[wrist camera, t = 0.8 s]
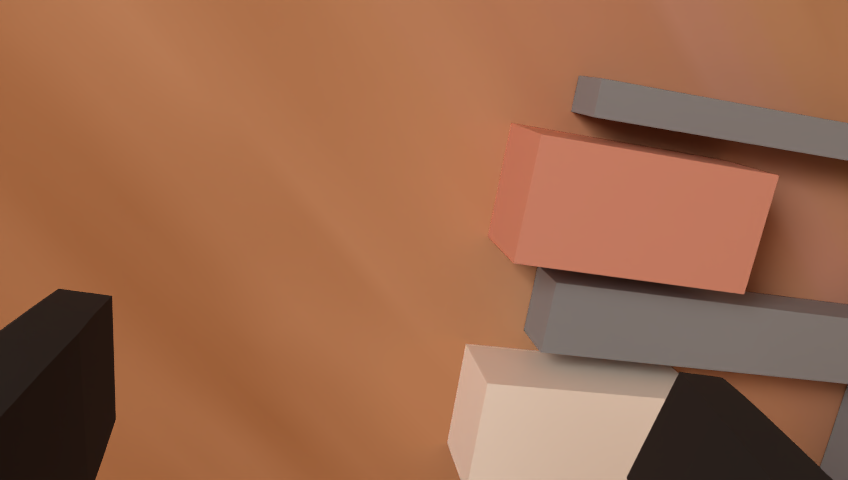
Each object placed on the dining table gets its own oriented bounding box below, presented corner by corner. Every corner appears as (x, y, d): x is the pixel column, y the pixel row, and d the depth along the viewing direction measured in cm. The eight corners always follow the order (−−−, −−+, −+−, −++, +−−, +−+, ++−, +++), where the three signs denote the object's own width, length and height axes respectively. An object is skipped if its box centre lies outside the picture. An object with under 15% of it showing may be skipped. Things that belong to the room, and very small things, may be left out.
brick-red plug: (690, 263, 27) (744, 294, 24) (486, 234, 26) (513, 263, 22) (719, 158, 26) (779, 175, 23) (509, 122, 25) (541, 134, 22)
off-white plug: (640, 453, 29) (684, 505, 26) (446, 439, 28) (465, 493, 24) (664, 360, 28) (712, 402, 25) (464, 341, 27) (487, 383, 23)
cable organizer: (829, 513, 31) (873, 552, 29) (489, 491, 28) (506, 533, 26) (955, 144, 28) (1017, 153, 25) (579, 75, 25) (608, 79, 22)
